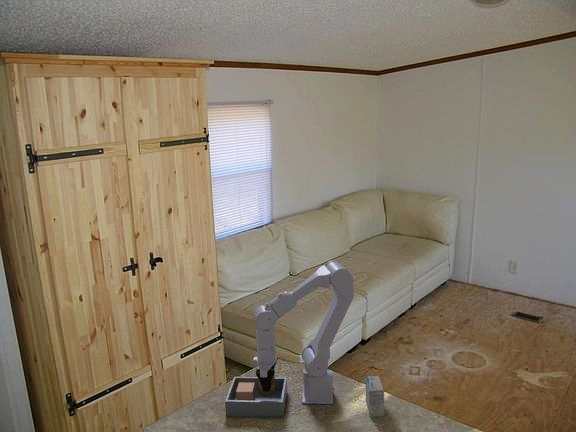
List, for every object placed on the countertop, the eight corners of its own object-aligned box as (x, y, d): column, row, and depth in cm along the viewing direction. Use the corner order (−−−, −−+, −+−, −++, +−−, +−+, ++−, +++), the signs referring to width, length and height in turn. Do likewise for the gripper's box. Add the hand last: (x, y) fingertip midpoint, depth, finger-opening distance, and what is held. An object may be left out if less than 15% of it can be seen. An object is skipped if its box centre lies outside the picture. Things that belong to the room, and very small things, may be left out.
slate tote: (287, 391, 148) (286, 377, 147) (283, 417, 136) (282, 402, 135) (235, 390, 150) (234, 376, 149) (226, 416, 137) (224, 401, 136)
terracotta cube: (239, 396, 146) (238, 382, 145) (255, 396, 145) (254, 382, 144) (237, 406, 141) (236, 391, 140) (253, 406, 140) (252, 391, 139)
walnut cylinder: (261, 386, 145) (260, 366, 143) (276, 387, 144) (275, 367, 142) (257, 395, 140) (256, 374, 138) (273, 396, 139) (272, 375, 137)
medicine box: (384, 417, 134) (384, 390, 132) (369, 417, 134) (369, 390, 132) (379, 400, 142) (379, 375, 140) (365, 401, 142) (365, 375, 140)
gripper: (256, 333, 146) (258, 372, 149) (248, 357, 132) (251, 399, 135) (278, 334, 145) (280, 373, 148) (273, 357, 131) (274, 400, 134)
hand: (267, 385), depth 141 cm, fingers closed on walnut cylinder, 5 cm apart
